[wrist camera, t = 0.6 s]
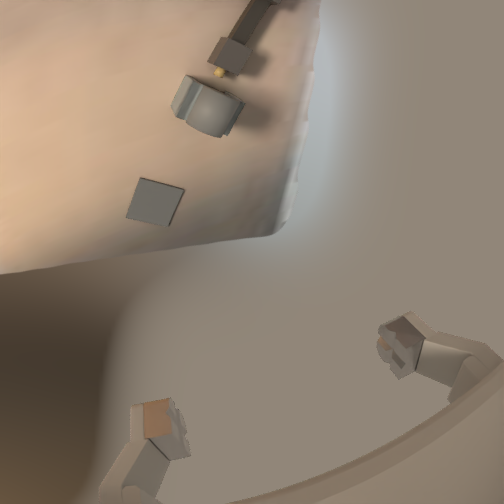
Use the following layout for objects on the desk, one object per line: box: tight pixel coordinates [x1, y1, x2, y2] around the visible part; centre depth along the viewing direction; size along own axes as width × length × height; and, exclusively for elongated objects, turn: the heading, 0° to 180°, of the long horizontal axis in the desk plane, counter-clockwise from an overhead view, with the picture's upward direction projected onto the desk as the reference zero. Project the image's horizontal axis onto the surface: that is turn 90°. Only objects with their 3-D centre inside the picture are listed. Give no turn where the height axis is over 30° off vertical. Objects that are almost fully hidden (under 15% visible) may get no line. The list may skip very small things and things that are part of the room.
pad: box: [126, 178, 184, 227], centre depth 58 cm, size 9×9×1 cm
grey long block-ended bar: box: [207, 0, 282, 78], centre depth 40 cm, size 20×4×4 cm, turn 150°
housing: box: [171, 75, 245, 138], centre depth 44 cm, size 6×9×12 cm, turn 60°
